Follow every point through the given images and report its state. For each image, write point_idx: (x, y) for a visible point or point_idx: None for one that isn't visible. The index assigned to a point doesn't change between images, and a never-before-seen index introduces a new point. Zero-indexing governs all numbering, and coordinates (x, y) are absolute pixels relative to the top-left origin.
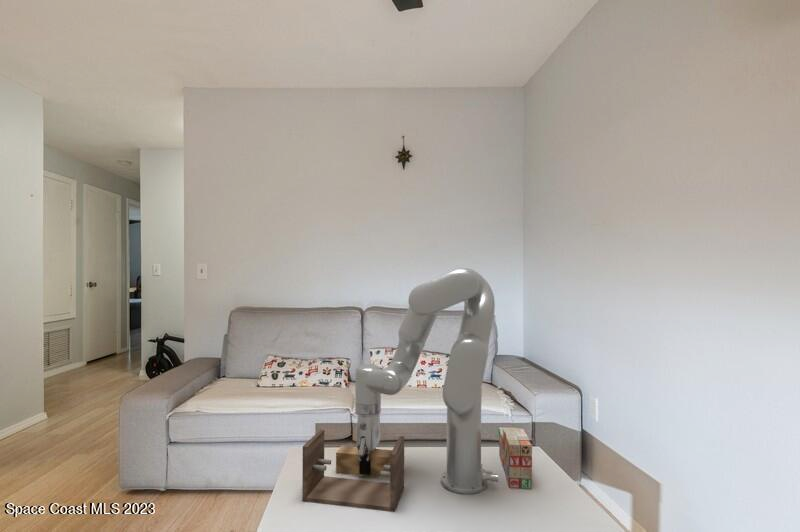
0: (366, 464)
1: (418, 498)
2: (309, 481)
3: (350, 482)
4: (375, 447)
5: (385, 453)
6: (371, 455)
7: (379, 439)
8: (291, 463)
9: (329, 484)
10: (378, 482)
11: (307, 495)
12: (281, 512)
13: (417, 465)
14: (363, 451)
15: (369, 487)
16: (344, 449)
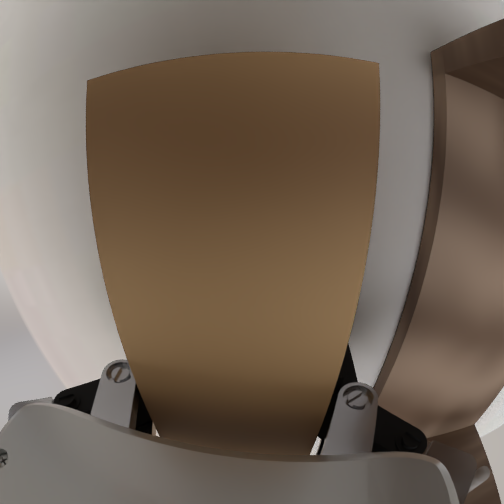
0: (354, 377)
1: (487, 8)
2: None
3: (423, 370)
4: (302, 465)
5: (225, 272)
6: (319, 407)
7: (59, 432)
8: None
9: (419, 420)
10: (446, 227)
11: (472, 428)
12: (488, 426)
13: (93, 34)
14: (462, 483)
15: (486, 269)
16: None
